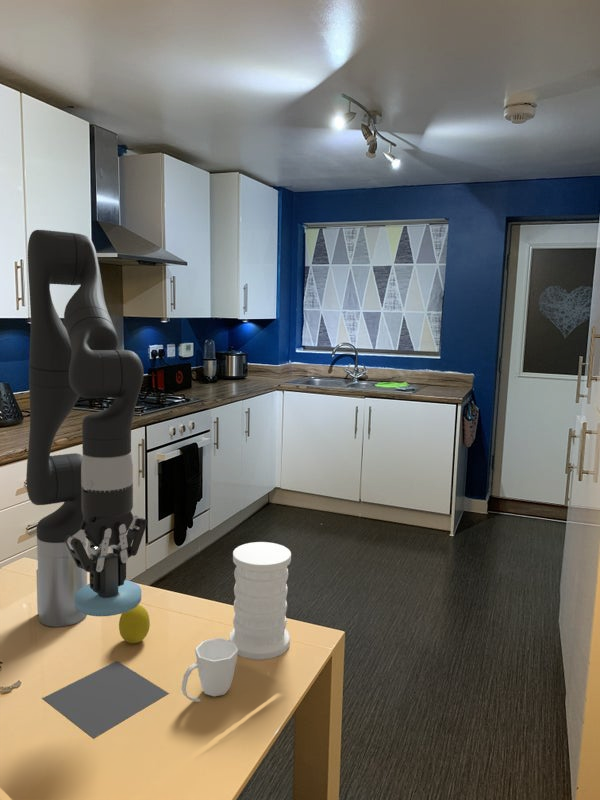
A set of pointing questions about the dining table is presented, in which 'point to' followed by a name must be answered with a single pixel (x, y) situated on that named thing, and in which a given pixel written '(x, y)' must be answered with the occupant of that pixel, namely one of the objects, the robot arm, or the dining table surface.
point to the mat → (105, 698)
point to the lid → (108, 593)
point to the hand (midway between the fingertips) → (108, 587)
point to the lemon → (134, 624)
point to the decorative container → (260, 600)
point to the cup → (213, 667)
